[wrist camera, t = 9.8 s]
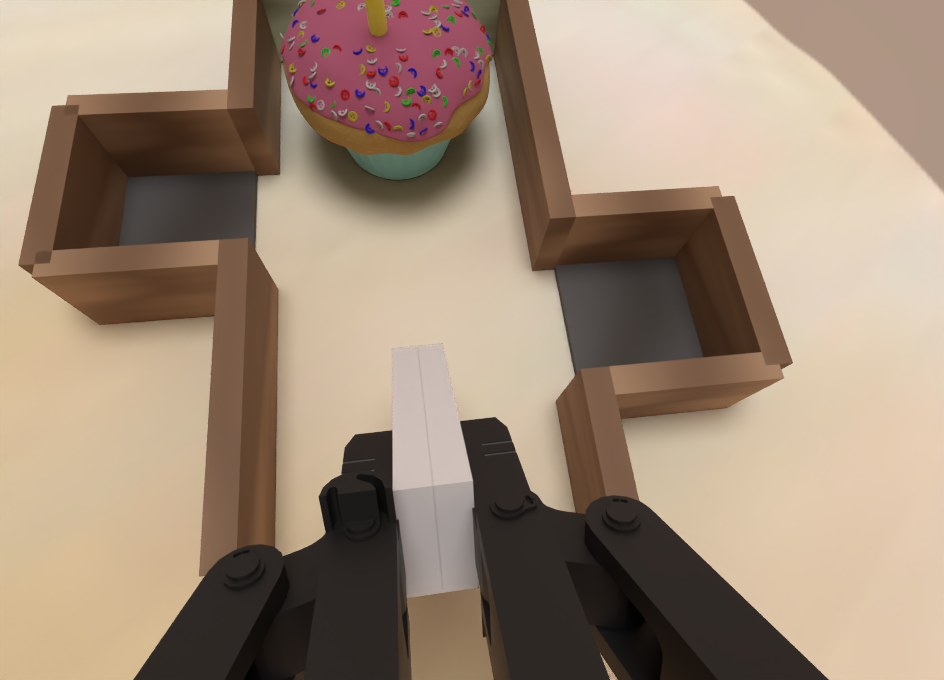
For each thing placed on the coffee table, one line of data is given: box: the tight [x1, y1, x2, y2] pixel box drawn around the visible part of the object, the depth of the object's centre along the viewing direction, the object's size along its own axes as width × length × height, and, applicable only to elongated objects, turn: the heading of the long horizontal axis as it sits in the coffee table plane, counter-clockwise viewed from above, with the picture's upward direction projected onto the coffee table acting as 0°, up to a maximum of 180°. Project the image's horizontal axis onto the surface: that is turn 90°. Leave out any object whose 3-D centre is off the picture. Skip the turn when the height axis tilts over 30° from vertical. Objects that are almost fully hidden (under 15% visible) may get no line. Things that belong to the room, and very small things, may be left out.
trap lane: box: [19, 0, 793, 576], centre depth 22 cm, size 26×25×5 cm
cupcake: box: [280, 0, 492, 180], centre depth 21 cm, size 9×8×12 cm
